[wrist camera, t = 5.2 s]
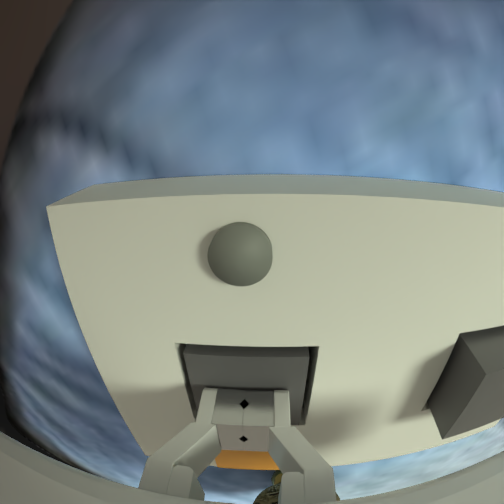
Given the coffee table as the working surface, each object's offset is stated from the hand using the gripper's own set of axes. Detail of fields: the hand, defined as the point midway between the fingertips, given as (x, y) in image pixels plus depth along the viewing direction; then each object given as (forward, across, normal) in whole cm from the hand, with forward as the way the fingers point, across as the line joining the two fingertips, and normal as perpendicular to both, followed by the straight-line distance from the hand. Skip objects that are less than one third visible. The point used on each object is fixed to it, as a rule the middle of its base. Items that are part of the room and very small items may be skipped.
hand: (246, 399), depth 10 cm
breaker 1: (+3, 0, 0) cm, 3 cm away
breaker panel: (+3, -5, 0) cm, 6 cm away
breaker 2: (+1, -10, 0) cm, 10 cm away
